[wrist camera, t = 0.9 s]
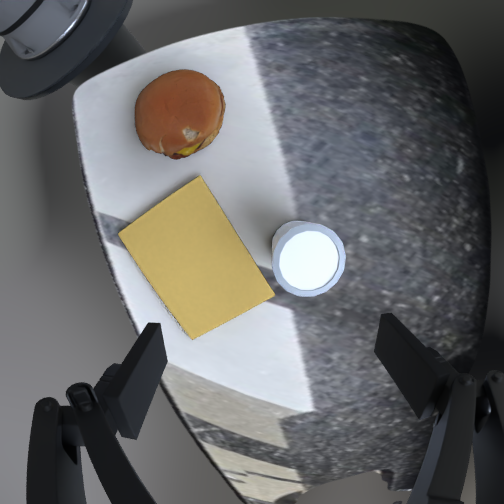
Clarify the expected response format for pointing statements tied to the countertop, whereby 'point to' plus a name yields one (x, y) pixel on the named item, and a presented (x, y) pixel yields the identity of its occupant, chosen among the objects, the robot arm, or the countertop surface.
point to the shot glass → (307, 258)
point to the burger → (179, 113)
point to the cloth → (195, 260)
